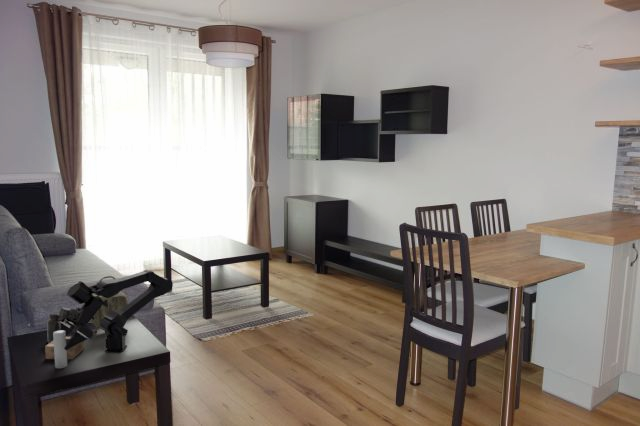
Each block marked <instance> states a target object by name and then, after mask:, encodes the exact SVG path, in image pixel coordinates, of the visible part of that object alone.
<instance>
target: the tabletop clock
mask: <svg viewBox="0 0 640 426" xmlns="http://www.w3.org/2000/svg"><path fill="white" fill-rule="evenodd" d="M108 278H110V279H112V280H116V278H115V277H114V276H112V275H108V276H104V277H102V278H101V279H100V280H99V281H98V282H100V281H104V280H105V279H108ZM92 295H93V296H98V295H95V294H92ZM99 297H100V298H102V299H106V300H108V301H107V303H108V307H106V306H103V305H102V306H101V307H100V309H99V310H98V311H97V312H96V314H95V315H94V316H93V317H95V319H94V320H92V319H91V320H90V321H89V322H90V323H91V324H92V325H93V326H95V327H96V328H95V329H94V330H93V331H94V335H95V334H97V333H98V330H99V329H101V327H100V321H101V320H102V319H103V318H104V317H103V316H104V315H107V314H108V313H109V312H110V311H111V310H113V311H115V312H117V311H120V310H121V309H122V308H124V307H125V306H126V305H128V304H129V303H128V298H127V297H128V296H127V295H126V293H124V292H122V290H121V291H120V292H119V293H118V294H116V295H114V296H112V297H110V298H105V297H103V296H99Z"/></svg>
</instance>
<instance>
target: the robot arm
mask: <svg viewBox="0 0 640 426" xmlns="http://www.w3.org/2000/svg"><path fill="white" fill-rule="evenodd" d="M115 279H116V278H115ZM99 281H100V280H99ZM99 281H98V282H96V284H93V285H91V286H88V285H87V284H86V283H84V282H83V281H81V280H78V282H77V283H74V285H72V286H70V287H69V289H68V290H67V296H68V297H69V298H71V299H72V300H73V301H75V302H76V303H78V304H79V305H81V304H82V305H81V306H80V307H79V306H78V307H76V308H75V309H74V308H66V307H60V310H59V311H60V312H59V314H58V316H60V317H59V318H58V320H59V321H60V322H59V321H58V323H59V330H58V331H60V330H64V331H65V334H66V337H68V335H69V334H70V333H72V335H71V336H70V337H71V338H70V340H69V341H68V343H67V344H66V346H65V348H64V349H65V350H68V349H70V348H71V347H73V346H75V345H77V344H79V343H81V342H82V341H84V342H85V341H87V340H88V339H89V340H91V339H92V338H93V337H94V335H95V334H94V330H93V329H91V328H89V327H88V326H87V325H88V324H89V323H90V322H91V321H90V320H91V319H92V320H94V319H95V317H93V316H94V315H95V314H96V312H97V311H98V310H99V309H100V307H101V306H102V305H103V306H106V307H108V303H107V301H108V300H106V299H102V298H100V297H99V296H103V297H105V298H110V297H112V296H114V295H116V294H118V293H119V292H120V291H121V292H122V291H123V290H126V289H129V288H133V287H134V286H137V285H140V284H143V283H147V282H148V283H150V284H149V286H148V287H147V289H146V290H145V291H144V292H142V293H141V294H140V295H138V296H137V297H136V298H134V299H133V300H132V301H131V302H129V303H128V305H126V306H125V307H124V308H122V309H121V310H120V311H117V312H115V311H113V310H111V311H110V312H109V313H108V314H107V315H104V316H103V317H104V318H103V319H102V320H101V321H100V327H101V328H100V329H101V330H102V331H104V333H105V334H106V338H105V350H104V352H105V353H122V352H123V351H124V350H125V349H126V348H127V347H128V344H126V336H127V335H128V329H126V327H125V325H126V323H127V322H128V320H129V319H130V318H131V317H132V316H134V315H135V314H136V313H138V312H139V311H140V310H142V309H143V308H144V307H145V306H147V305H148V304H149V303H150V302H152V301H153V300H155V299H156V298H159V297H162V296H165V295H166V294H168V293H169V292H171V291H172V290H173V286H174V283H173V281H172V280H171V279H169V278H166V277H164V276H161V275H159V274H157V273H155V272H154V271H151V270H149V269H144V270H143V271H140V272H136V273H134V274H131V275H130V274H129V275H128V276H125V277H120V278H118V279H116V280H114V279H106V280H105V279H103V280H102V281H100V282H99ZM92 294H95V295H98V296H93V295H92Z"/></svg>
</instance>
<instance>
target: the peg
mask: <svg viewBox="0 0 640 426" xmlns="http://www.w3.org/2000/svg"><path fill="white" fill-rule="evenodd" d="M66 337H67V336H66V334H65V331H64V330H60V331H55V332H54V333H53V339H54V355H55V359H54V368H55V369H64V368H66V367H68V359H67V350H65V349H64V348H65V346H66Z"/></svg>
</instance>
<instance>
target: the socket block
mask: <svg viewBox="0 0 640 426" xmlns="http://www.w3.org/2000/svg"><path fill="white" fill-rule="evenodd" d="M71 337H72V336H66V344H67V343H68V341H69V340H70V338H71ZM83 350H85V340H84V341H82V342H81V343H79V344H77V345H75V346H73V347H71V348H70V349H68V350H67V360H73V359H75V357H76V356H78V355H79V354H80V353H81V352H82V351H83ZM44 352H45V360H55V355H54V340H53V341H52V342H50V343H49V342H48V344H46V345H45V346H44Z"/></svg>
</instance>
